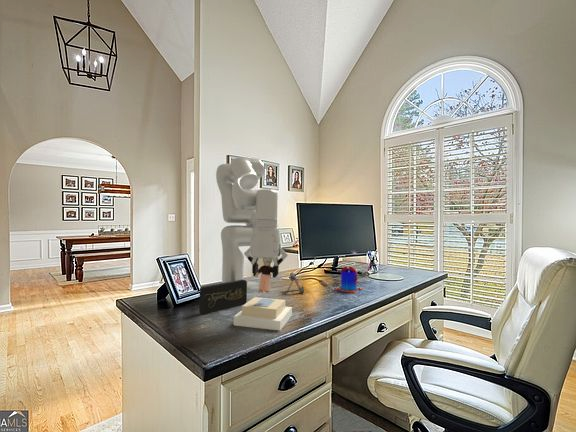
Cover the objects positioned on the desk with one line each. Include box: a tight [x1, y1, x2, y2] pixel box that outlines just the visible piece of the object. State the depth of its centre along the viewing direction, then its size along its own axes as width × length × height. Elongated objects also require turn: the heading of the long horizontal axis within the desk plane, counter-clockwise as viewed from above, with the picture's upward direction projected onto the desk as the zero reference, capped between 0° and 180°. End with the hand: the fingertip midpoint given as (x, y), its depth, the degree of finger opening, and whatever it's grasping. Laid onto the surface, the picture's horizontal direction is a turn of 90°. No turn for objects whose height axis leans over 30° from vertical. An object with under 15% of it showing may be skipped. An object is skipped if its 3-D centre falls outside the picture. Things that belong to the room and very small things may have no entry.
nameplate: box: [198, 279, 248, 315], centre depth 122 cm, size 21×2×10 cm, turn 138°
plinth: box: [233, 296, 293, 331], centre depth 110 cm, size 16×16×6 cm
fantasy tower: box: [333, 265, 364, 294], centre depth 158 cm, size 12×12×12 cm
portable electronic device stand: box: [286, 272, 305, 295], centre depth 152 cm, size 9×8×8 cm
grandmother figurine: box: [254, 258, 273, 294], centre depth 110 cm, size 8×4×13 cm, turn 120°
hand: (265, 275), depth 110 cm, fingers closed on grandmother figurine, 6 cm apart
